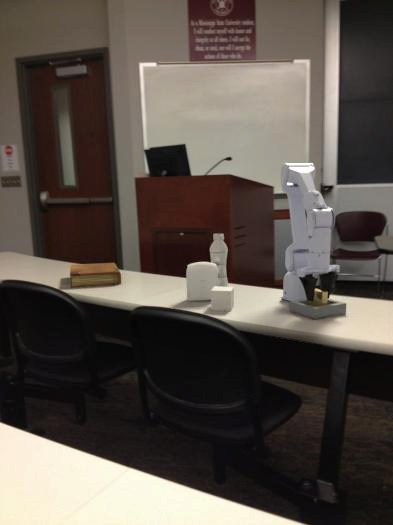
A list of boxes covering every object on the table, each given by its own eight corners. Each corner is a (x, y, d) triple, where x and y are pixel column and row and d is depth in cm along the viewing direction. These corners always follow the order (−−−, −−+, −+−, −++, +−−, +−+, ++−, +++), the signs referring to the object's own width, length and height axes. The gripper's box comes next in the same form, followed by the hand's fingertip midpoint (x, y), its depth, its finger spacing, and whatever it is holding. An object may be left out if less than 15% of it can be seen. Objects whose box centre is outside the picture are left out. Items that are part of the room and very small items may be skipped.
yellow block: (319, 313, 123) (320, 292, 122) (307, 309, 127) (307, 289, 126) (328, 312, 125) (329, 291, 124) (316, 308, 129) (316, 288, 128)
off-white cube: (211, 310, 131) (210, 290, 130) (214, 305, 136) (214, 286, 135) (231, 311, 129) (231, 291, 128) (233, 305, 135) (233, 286, 134)
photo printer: (187, 301, 141) (186, 263, 139) (186, 298, 145) (185, 261, 143) (219, 300, 142) (219, 262, 140) (217, 297, 146) (217, 260, 144)
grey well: (289, 311, 128) (289, 301, 127) (319, 305, 134) (320, 296, 133) (314, 319, 119) (315, 309, 119) (345, 313, 125) (346, 303, 124)
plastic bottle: (206, 291, 155) (205, 234, 152) (214, 287, 161) (214, 233, 158) (223, 293, 152) (222, 235, 149) (230, 289, 158) (230, 233, 155)
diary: (121, 286, 169) (120, 271, 168) (70, 289, 164) (69, 274, 163) (116, 275, 191) (115, 262, 190) (71, 277, 186) (70, 264, 185)
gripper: (310, 255, 117) (309, 305, 119) (348, 251, 124) (346, 298, 126) (292, 252, 123) (291, 300, 125) (329, 248, 130) (328, 294, 132)
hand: (317, 299), depth 126 cm, fingers open, 5 cm apart
